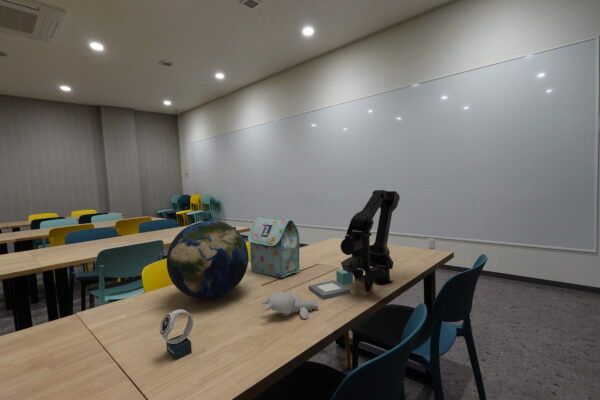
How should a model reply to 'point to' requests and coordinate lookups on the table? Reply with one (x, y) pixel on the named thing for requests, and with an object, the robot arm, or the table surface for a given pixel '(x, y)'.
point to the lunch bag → (274, 247)
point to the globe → (207, 259)
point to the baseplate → (329, 289)
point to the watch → (180, 343)
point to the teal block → (344, 277)
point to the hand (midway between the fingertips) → (363, 289)
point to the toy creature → (289, 304)
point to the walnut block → (361, 287)
